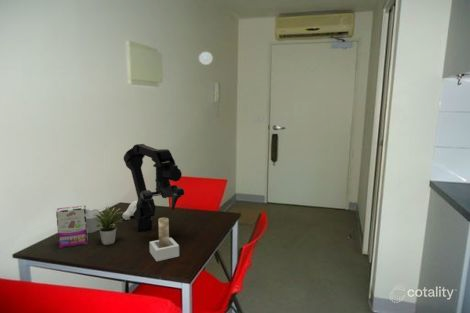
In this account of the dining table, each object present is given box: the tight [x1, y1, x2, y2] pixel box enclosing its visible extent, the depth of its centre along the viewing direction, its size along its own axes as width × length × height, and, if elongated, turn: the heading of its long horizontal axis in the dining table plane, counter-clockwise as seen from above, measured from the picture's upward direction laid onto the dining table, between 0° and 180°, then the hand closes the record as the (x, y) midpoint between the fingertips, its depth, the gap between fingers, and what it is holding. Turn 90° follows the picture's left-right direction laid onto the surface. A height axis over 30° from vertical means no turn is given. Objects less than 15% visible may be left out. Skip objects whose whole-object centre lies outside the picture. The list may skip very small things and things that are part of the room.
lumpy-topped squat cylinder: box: [86, 208, 105, 234], centre depth 157 cm, size 10×13×9 cm
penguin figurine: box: [122, 200, 138, 221], centre depth 173 cm, size 6×8×12 cm
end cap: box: [149, 237, 180, 262], centre depth 130 cm, size 9×9×4 cm
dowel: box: [158, 217, 170, 248], centre depth 130 cm, size 4×4×14 cm
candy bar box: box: [55, 205, 88, 249], centre depth 137 cm, size 11×5×16 cm, turn 114°
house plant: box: [92, 206, 124, 245], centre depth 139 cm, size 14×14×16 cm
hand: (163, 211), depth 144 cm, fingers open, 9 cm apart
